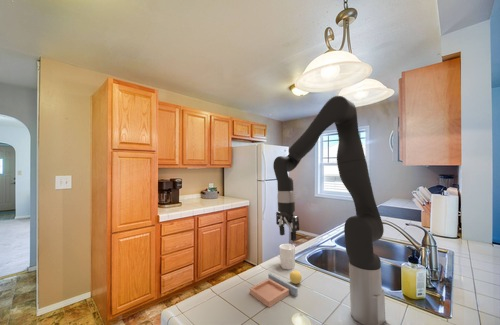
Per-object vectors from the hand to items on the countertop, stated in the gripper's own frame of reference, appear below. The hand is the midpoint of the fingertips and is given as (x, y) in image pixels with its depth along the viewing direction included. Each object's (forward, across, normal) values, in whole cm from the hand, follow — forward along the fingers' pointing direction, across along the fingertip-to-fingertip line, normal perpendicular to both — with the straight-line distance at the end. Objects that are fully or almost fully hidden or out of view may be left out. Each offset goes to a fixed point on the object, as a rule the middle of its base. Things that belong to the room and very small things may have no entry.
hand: (287, 237), depth 92 cm
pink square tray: (+19, -5, +13) cm, 23 cm away
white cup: (+19, +11, -7) cm, 23 cm away
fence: (+19, -3, +6) cm, 20 cm away
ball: (+16, -3, -1) cm, 16 cm away
